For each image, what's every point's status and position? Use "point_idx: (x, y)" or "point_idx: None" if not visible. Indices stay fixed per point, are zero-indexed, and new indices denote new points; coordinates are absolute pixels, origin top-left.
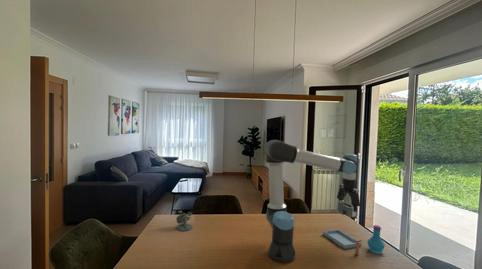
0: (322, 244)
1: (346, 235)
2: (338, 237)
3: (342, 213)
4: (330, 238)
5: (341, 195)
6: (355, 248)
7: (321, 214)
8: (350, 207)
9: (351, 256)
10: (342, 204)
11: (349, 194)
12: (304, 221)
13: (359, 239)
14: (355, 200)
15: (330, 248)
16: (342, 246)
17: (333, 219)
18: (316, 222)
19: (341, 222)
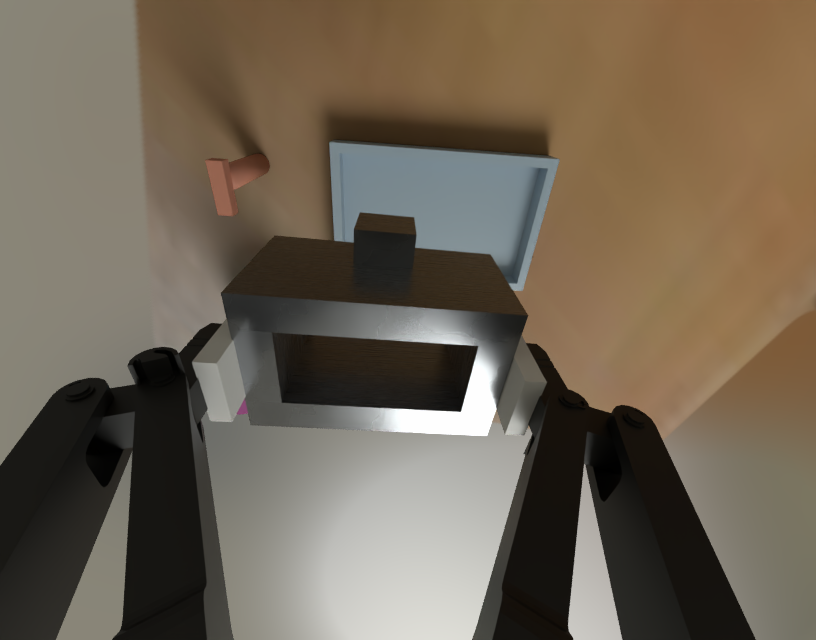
0: (441, 9)
1: None
2: (462, 225)
3: (365, 218)
4: (471, 150)
5: (554, 488)
6: (250, 161)
7: (724, 371)
8: (257, 334)
9: (241, 102)
10: (431, 324)
11: (169, 631)
12: (771, 187)
13: (228, 206)
14: (17, 488)
15: (369, 28)
16: (352, 141)
17: (636, 381)
18: (690, 262)
19: (586, 389)
